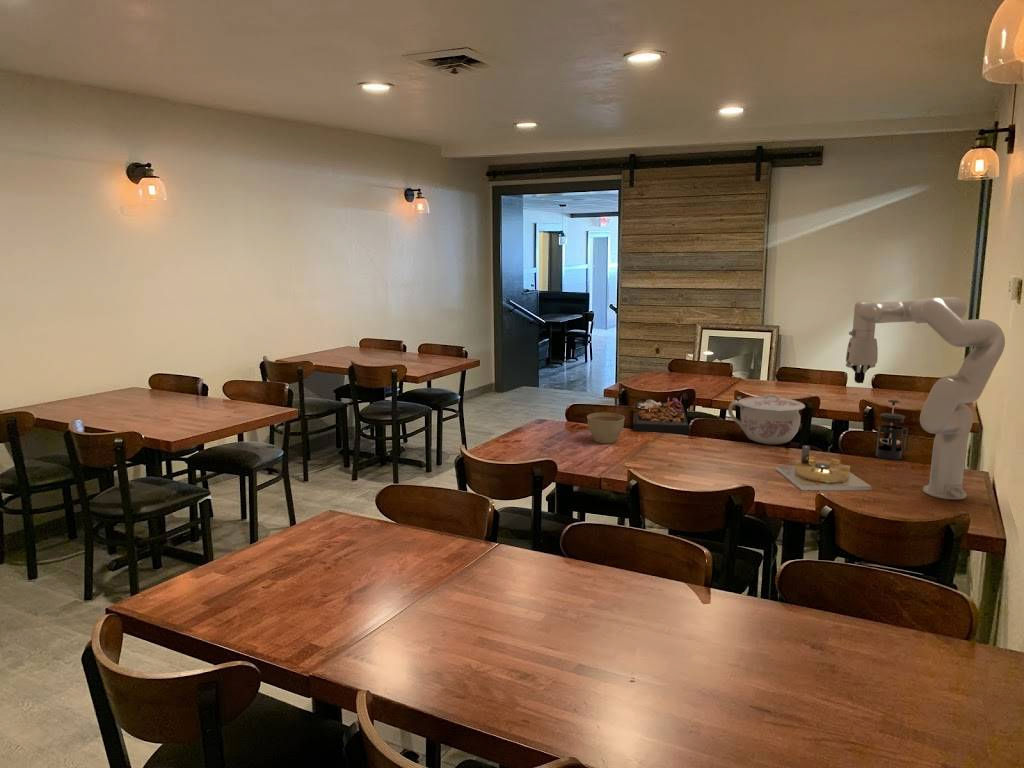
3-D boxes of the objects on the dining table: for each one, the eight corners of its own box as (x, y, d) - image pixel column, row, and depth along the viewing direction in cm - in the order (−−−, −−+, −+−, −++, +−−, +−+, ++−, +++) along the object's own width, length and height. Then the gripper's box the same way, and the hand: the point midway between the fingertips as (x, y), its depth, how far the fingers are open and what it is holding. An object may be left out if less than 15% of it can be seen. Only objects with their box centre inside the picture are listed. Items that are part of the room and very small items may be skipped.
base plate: (870, 490, 248) (871, 485, 248) (801, 490, 248) (801, 485, 248) (839, 469, 272) (839, 464, 271) (776, 469, 271) (776, 465, 271)
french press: (878, 459, 285) (883, 402, 281) (870, 452, 294) (875, 397, 290) (909, 460, 283) (915, 403, 279) (900, 453, 292) (906, 398, 288)
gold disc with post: (849, 471, 264) (851, 447, 262) (849, 485, 248) (851, 460, 246) (796, 464, 271) (798, 441, 270) (793, 478, 255) (795, 454, 254)
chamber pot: (816, 445, 305) (820, 397, 301) (765, 452, 295) (768, 402, 291) (770, 430, 331) (773, 386, 327) (721, 436, 321) (724, 390, 317)
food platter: (633, 411, 372) (634, 391, 370) (682, 413, 368) (683, 393, 366) (633, 432, 329) (633, 410, 327) (688, 435, 325) (689, 413, 323)
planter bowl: (583, 444, 307) (583, 419, 305) (590, 435, 322) (591, 411, 320) (621, 447, 303) (621, 422, 301) (626, 437, 318) (627, 413, 316)
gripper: (848, 335, 266) (843, 384, 269) (888, 335, 266) (883, 384, 269) (838, 333, 273) (834, 380, 276) (878, 333, 273) (873, 380, 276)
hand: (859, 382), depth 273 cm, fingers closed
